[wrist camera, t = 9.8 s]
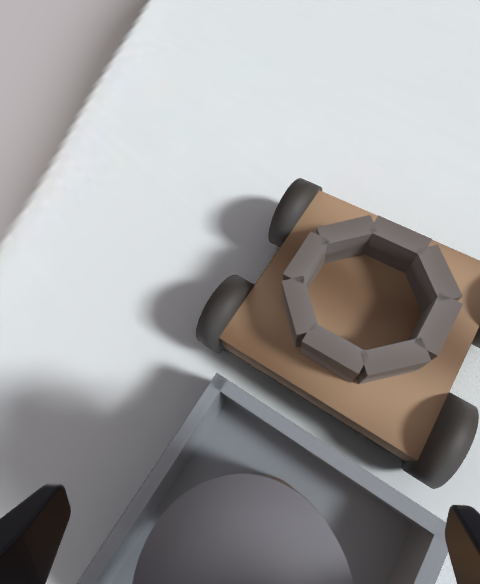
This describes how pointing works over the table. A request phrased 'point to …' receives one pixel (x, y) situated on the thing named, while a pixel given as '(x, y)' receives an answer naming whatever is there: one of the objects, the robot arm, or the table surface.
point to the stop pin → (242, 537)
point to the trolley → (360, 326)
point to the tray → (292, 469)
